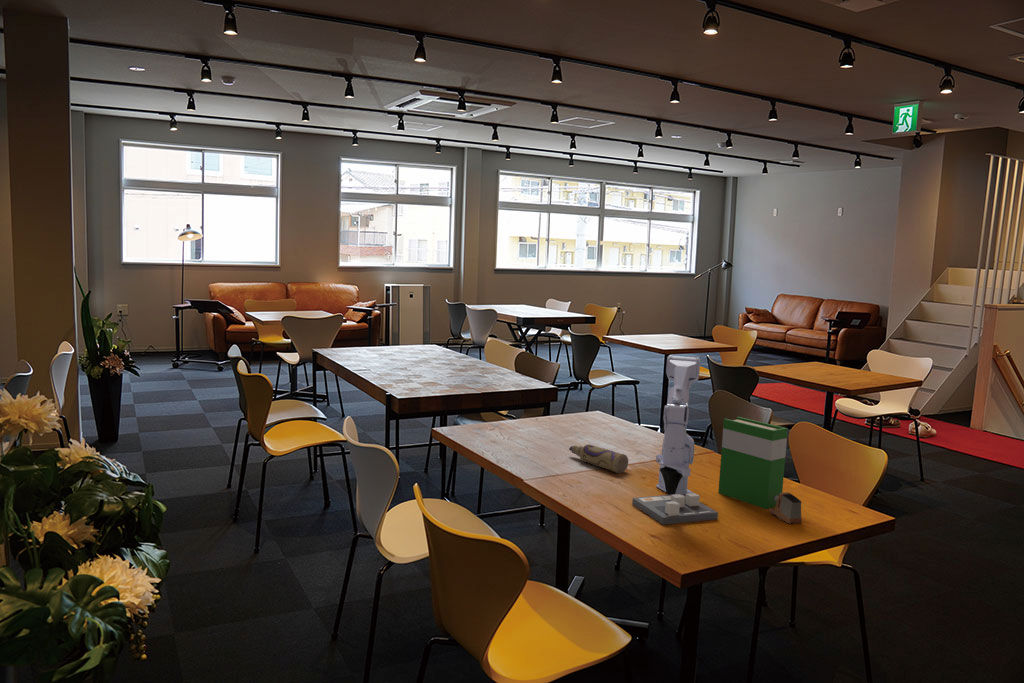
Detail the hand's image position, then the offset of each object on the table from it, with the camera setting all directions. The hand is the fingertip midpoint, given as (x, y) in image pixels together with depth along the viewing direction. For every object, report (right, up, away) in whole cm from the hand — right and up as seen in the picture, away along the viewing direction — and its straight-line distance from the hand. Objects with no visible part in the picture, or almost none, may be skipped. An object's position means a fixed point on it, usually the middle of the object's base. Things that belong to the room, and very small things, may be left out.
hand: (670, 493), depth 204 cm
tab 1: (0, -5, -1) cm, 5 cm away
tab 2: (+8, -5, +8) cm, 12 cm away
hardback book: (+29, -6, +22) cm, 37 cm away
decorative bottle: (-14, -1, +54) cm, 55 cm away
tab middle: (+3, -5, +6) cm, 8 cm away
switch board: (+3, -7, +7) cm, 10 cm away
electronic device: (+34, -9, +6) cm, 36 cm away
